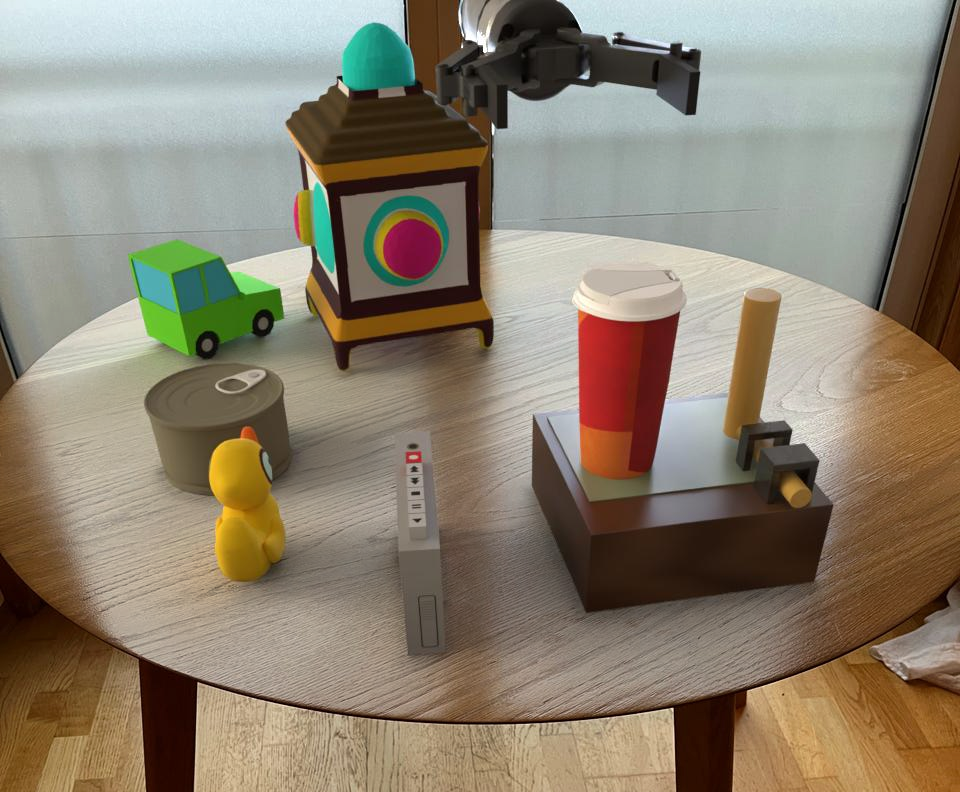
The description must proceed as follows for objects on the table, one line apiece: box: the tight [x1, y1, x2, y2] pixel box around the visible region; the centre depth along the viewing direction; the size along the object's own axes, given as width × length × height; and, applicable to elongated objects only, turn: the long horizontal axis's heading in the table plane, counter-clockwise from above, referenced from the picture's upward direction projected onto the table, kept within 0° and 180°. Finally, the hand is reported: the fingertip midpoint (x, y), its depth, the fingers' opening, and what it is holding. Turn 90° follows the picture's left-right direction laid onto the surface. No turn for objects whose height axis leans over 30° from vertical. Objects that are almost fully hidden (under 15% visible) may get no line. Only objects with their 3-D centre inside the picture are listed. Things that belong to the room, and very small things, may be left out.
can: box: [143, 362, 293, 496], centre depth 89 cm, size 12×12×7 cm
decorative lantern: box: [285, 21, 495, 372], centre depth 102 cm, size 20×20×30 cm
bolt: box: [723, 287, 812, 508], centre depth 71 cm, size 3×12×11 cm, turn 11°
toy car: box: [127, 238, 285, 360], centre depth 109 cm, size 10×13×10 cm
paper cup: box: [571, 260, 688, 479], centre depth 71 cm, size 8×8×14 cm
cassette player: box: [394, 430, 447, 656], centre depth 73 cm, size 16×3×10 cm, turn 5°
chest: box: [531, 392, 835, 614], centre depth 78 cm, size 18×18×10 cm
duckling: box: [209, 427, 287, 583], centre depth 76 cm, size 11×5×10 cm, turn 1°
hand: (599, 100), depth 68 cm, fingers open, 13 cm apart
